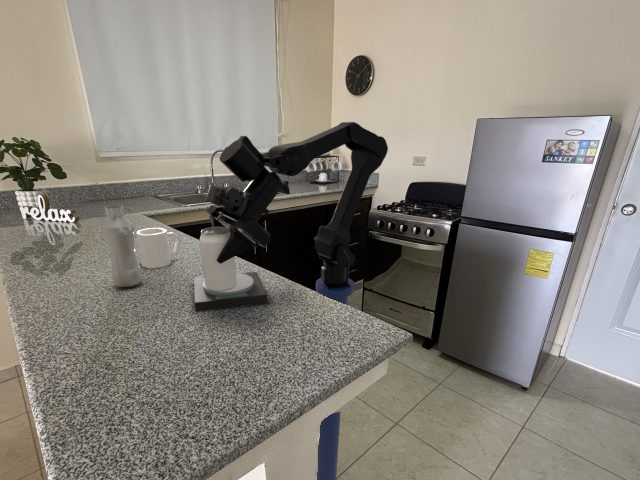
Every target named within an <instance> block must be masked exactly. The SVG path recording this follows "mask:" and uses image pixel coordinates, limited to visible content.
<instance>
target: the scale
mask: <svg viewBox="0 0 640 480" xmlns="http://www.w3.org/2000/svg"><path fill="white" fill-rule="evenodd" d="M193 278H194V279H193V291H194V292H193V293H194V294H193V295H194V308H195V312H196V313H197V312H203V311H212V310H220V309H228V308H229V309H230V308H236V307H245V306H252V305H262V304H267V303H268V294H267V291H266V289H265V287H264V285H263V282H262V280H261V278H260V276H259V274H258V271H250V272H249V271H248V272H236V280H237V284H236V285H235V287H234V288H232V289H230V290H227V291H221V292H215V291H210V290H208V289H207V288H206V286H205V280H204V276H196V277H193Z"/></svg>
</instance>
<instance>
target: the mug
mask: <svg viewBox="0 0 640 480" xmlns="http://www.w3.org/2000/svg"><path fill="white" fill-rule="evenodd" d="M135 235H136V241H137V246H138V253H139V257H140V264H141V267H143V268H146V269H158V268H159V269H160V268H163V267H166V266H169V265H171V263H172V256H171V251H170V245H169V244H170V243H169V238H170V237H172V238H173V239H174V240H176V241H175V244H174V247H173V253H174V254H177V255H180V251H181V246H182V239H181V238H180V237H179V236H178V235H177V234H175V232H173V231H170V232H169V231H168V229H166V228H163V227H146V228H143V229H139V230H137V231H136V233H135Z"/></svg>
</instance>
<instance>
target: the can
mask: <svg viewBox="0 0 640 480" xmlns="http://www.w3.org/2000/svg"><path fill="white" fill-rule="evenodd" d="M229 238H230V229H229V228H225V227H212V226H211V227H206V228H204V229H201V231H200V237H199V246H200V247H199V248H200V256H201V262H202V264H201V265H202V271H203V273H202V274H203V277H204V280H205V286H206V288H207V289H208V290H210V291H215V292H221V291H227V290H230V289H232V288H234V287H235V285H236V284H237V280H236V273H237V268H236V256H234V257H233V258H231V259H229V260H227V261H225V262H223V263H221V264H220V263H219V262H217V258H218V256H219V254H220V252H221V251H222V249H223V247H224V246H225V244H226V243H227V241H228V239H229Z"/></svg>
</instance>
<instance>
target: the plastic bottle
mask: <svg viewBox="0 0 640 480" xmlns="http://www.w3.org/2000/svg"><path fill="white" fill-rule="evenodd" d="M104 210H105V216H107V218H106V220H105V222H104V224H103V226H102V227H103V228H102V232H103V233H102V234H103V235H104V238H105V241H106V243H107V247H108V250H109V252H110V253H109V255H110V260H111V279H112V281H113V283H114V284H115V286H117V287H118V288H119V287H120V288H130V287H134V286H137V285H139V284H140V283H141V282H142V279H143V272H142V270H141V267H140V265H139V261H138V258H137V254H136V249H135V248H136V247H135V227H134V225H133V223H132V222H131V221H130V220H129V219H128V218H127V217H126V216H125V214H126V212H125V210H124V206H123V205H107V206H104Z"/></svg>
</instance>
